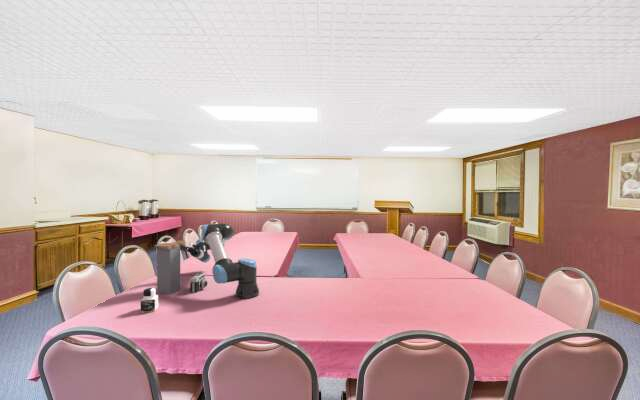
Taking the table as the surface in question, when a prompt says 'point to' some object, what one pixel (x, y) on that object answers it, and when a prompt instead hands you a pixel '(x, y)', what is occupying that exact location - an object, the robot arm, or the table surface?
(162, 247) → the walnut paddle board
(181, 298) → the table surface
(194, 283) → the camera
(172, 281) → the charcoal pedestal
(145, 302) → the medicine bottle
